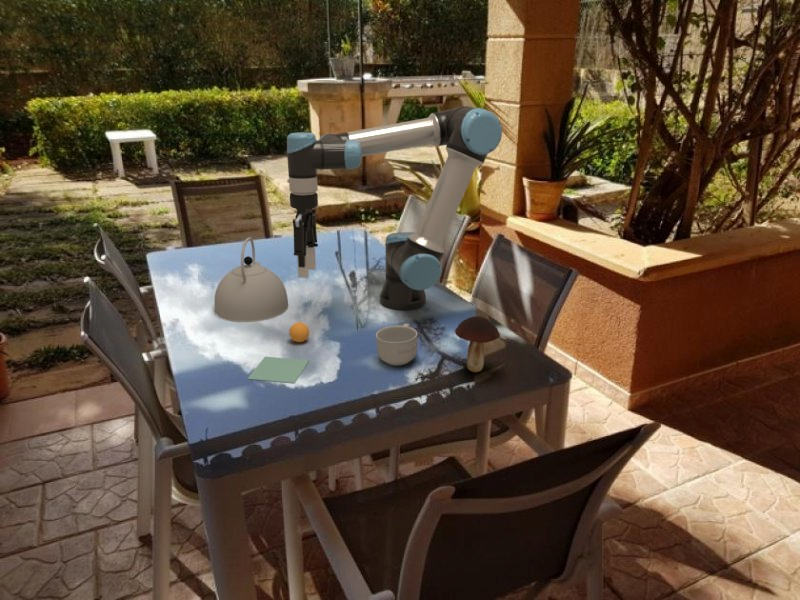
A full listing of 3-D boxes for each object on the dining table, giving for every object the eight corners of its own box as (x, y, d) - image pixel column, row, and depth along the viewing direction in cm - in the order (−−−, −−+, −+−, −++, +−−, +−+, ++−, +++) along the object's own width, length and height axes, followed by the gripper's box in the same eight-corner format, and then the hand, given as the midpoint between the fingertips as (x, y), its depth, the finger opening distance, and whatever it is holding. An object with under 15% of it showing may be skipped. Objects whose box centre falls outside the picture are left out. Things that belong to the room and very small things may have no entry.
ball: (312, 337, 168) (311, 320, 166) (306, 346, 162) (305, 328, 160) (293, 336, 168) (292, 318, 166) (287, 344, 163) (286, 326, 161)
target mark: (309, 360, 154) (309, 360, 154) (294, 383, 143) (294, 382, 143) (265, 357, 156) (265, 356, 156) (247, 379, 145) (247, 378, 145)
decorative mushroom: (474, 357, 158) (478, 305, 152) (505, 373, 150) (510, 319, 144) (444, 369, 151) (446, 315, 146) (474, 386, 143) (478, 330, 138)
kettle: (226, 293, 200) (219, 228, 192) (293, 292, 201) (289, 228, 193) (206, 322, 177) (198, 250, 168) (283, 322, 178) (278, 250, 169)
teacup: (403, 374, 149) (403, 345, 146) (367, 362, 154) (367, 335, 151) (430, 353, 160) (431, 326, 157) (396, 343, 165) (396, 317, 162)
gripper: (301, 185, 169) (304, 262, 177) (277, 199, 151) (283, 283, 159) (326, 186, 168) (329, 263, 176) (306, 200, 150) (310, 285, 158)
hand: (307, 273), depth 168 cm, fingers open, 6 cm apart
